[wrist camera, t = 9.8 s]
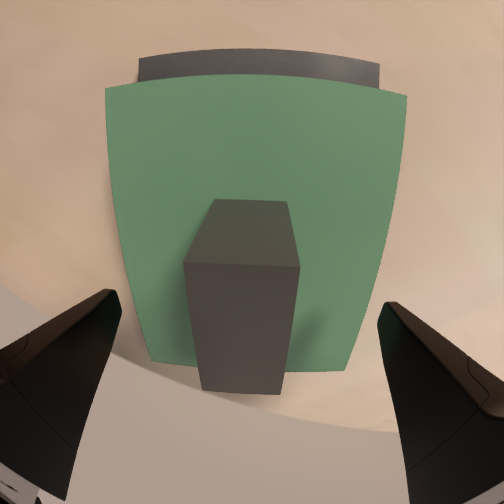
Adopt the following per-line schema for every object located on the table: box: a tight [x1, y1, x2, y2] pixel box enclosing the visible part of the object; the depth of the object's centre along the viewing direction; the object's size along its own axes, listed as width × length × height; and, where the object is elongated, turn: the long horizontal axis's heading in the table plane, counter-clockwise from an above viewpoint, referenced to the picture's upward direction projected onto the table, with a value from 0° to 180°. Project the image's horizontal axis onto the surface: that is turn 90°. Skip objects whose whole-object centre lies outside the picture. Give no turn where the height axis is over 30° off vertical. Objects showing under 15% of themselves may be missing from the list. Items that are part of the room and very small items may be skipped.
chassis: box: [138, 49, 380, 89], centre depth 14 cm, size 12×18×4 cm, turn 179°
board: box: [105, 74, 407, 395], centre depth 10 cm, size 11×14×6 cm
